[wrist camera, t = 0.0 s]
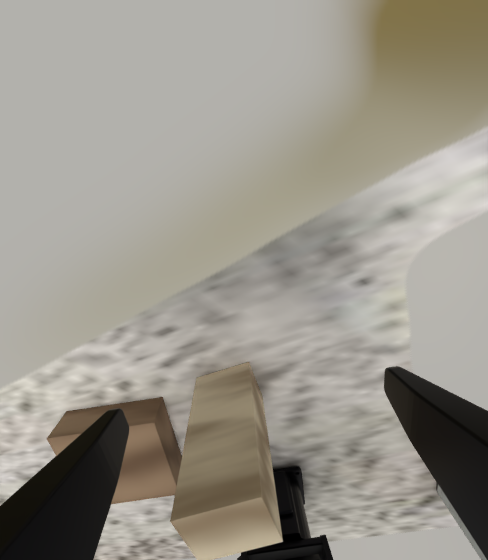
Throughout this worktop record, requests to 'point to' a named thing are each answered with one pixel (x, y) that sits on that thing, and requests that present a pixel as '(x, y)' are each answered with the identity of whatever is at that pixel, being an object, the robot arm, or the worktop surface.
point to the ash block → (226, 469)
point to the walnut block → (133, 447)
